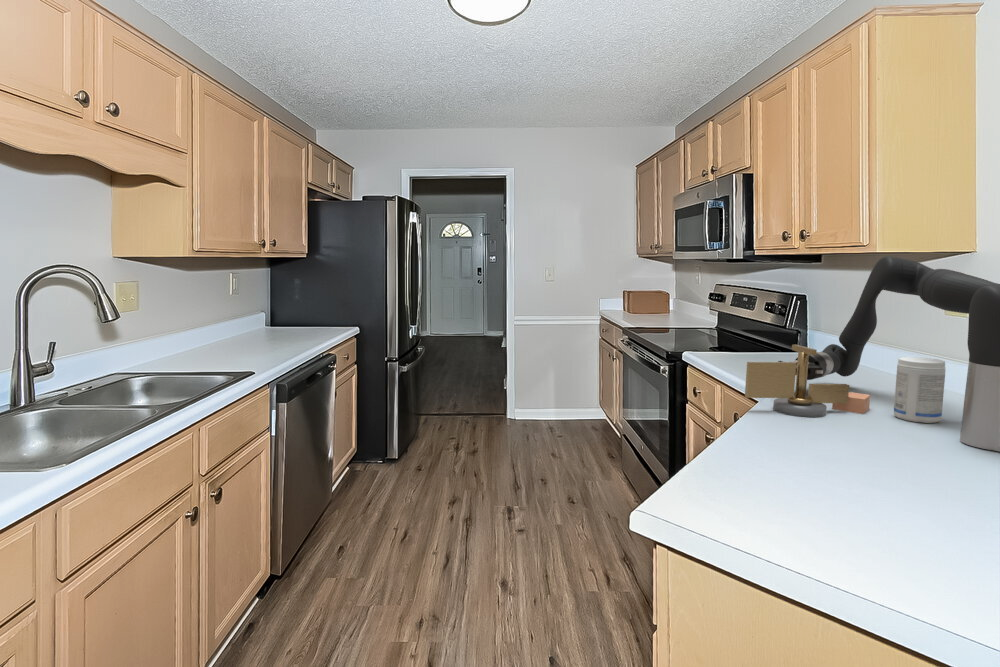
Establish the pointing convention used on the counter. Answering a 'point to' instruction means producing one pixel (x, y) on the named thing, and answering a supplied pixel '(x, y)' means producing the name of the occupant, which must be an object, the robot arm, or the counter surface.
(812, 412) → the base
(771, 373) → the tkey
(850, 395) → the orange block
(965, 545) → the counter surface
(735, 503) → the counter surface
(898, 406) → the supplement tub
